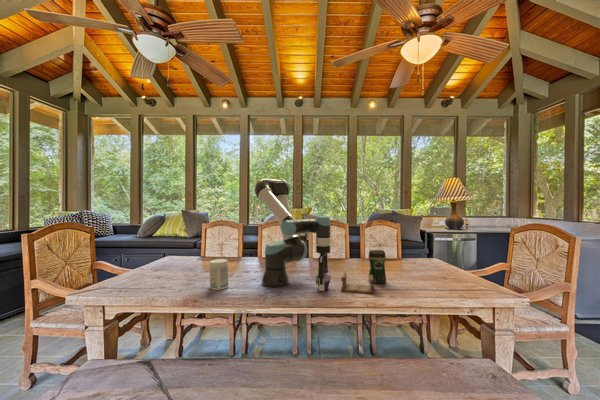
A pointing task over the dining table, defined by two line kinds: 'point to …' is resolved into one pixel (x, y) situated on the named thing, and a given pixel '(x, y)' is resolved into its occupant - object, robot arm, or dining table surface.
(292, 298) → the dining table surface
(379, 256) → the coffee jar
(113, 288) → the dining table surface
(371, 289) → the holder
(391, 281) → the dining table surface
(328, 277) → the potion bottle
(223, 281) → the supplement tub
